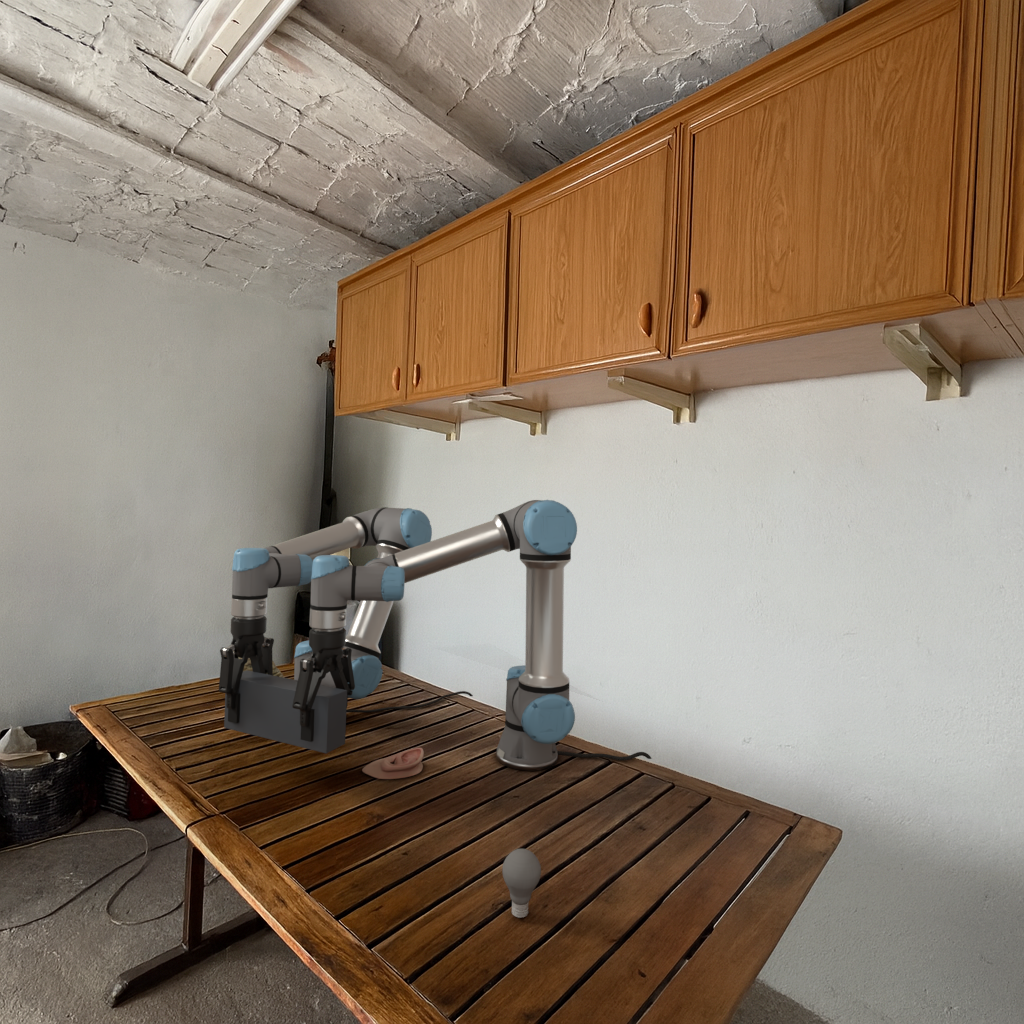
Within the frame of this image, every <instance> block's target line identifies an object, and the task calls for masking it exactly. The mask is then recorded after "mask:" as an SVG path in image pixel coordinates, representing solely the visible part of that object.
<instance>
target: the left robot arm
mask: <svg viewBox="0 0 1024 1024" xmlns="http://www.w3.org/2000/svg"><path fill="white" fill-rule="evenodd" d="M432 536H433V530H432V525H431V521H430V519H429V517H428V515H427V514H426V513H424V512H423V511H421V510H418V509H413V508H411V507H407V508H404V507H403V508H401V507H388V506H386V507H385V506H382V507H375V508H372V509H368V510H365V511H362V512H359V513H356V514H353V515H349V516H347V517H345V518H344V519H343V520H342V522H339V523H336V524H334V525H330V526H327V527H325V528H321V529H319V530H318V529H317V530H316V531H312V532H309V533H306V534H303V535H301V536H297V537H294V538H291V539H288V540H285V541H281V542H279V543H276V544H273V545H269V546H265V547H241V548H240V547H239V548H237V549H236V550H235V551H234V553H233V557H232V558H233V559H232V567H231V570H232V579H231V580H232V583H231V605H230V606H231V607H230V609H231V610H230V615H231V616H232V617H231V619H230V634H231V636H232V640H231V642H230V645H228V646H226V647H223V646H222V647H220V649H219V653H220V657H221V658H220V659H221V660H220V669H219V682H218V692H219V693H222V694H225V693H226V694H227V702H226V703H227V704H226V706H227V708H228V721H229V722H233V723H239V718H240V693H237V692H238V688H239V684H240V679H241V677H242V673H243V669H244V666H245V664H246V663H247V661H248V658H250V661H251V665H252V670H253V672H257V673H263V674H268V675H273V662H272V660H273V648H274V643H275V639H274V638H272V637H266V636H265V633H266V632H267V623H268V618H267V617H266V615H267V613H268V596H269V595H268V594H269V589H275V588H277V589H278V588H288V587H299V586H305V585H308V584H311V576H312V566H313V560H314V559H315V558H316V557H317V556H321V555H335V554H337V553H340V552H342V551H345V550H348V549H354V550H355V549H357V550H358V549H360V548H364V547H369V546H370V547H373V546H374V547H375V548H376V550H377V552H378V555H377V557H376V558H383V557H386V556H389V555H393V554H395V553H398V552H401V551H404V550H407V549H410V548H413V547H416V546H419V545H422V544H425V543H427V542H430V541H432ZM394 602H395V601H389V602H386V601H359V604H358V607H357V608H356V611H355V614H354V617H353V618H352V622H351V624H350V626H349V629H348V632H347V634H346V644H345V646H344V647H345V648H351V649H352V653H351V662H352V669H353V675H354V682H355V688H354V690H351V691H353V693H352V695H348V699H352V700H360V699H365V698H367V697H368V696H369V695H371V694H372V693H373V692H374V691H375V690H376V689H377V688H378V686H379V685H380V682H381V681H382V677H383V673H384V672H383V671H384V670H383V664H382V662H381V660H380V657H381V654H382V652H381V650H380V648H379V644H380V643H379V642H380V641H381V637H382V634H383V632H384V630H385V626H386V624H387V621H388V618H389V615H390V613H391V610H392V608H393V604H394ZM294 651H295V652H294V655H293V658H294V672H293V680H298V678H299V673H300V660H301V659H309V658H310V657H311V655H312V648H311V647H310V646H309V639H308V640H304V641H300V642H299V643H298V644H297V645H296V646H295V650H294ZM238 657H239V658H242V659H239V658H238ZM315 672H316V673H318V672H317V671H315ZM348 683H349V682H348ZM320 685H323V686H329V687H334V688H336V686H335V684H334V681H333V678H332V676H331V673H330V672H328V673H326V676H325V678H323V679H322V681H321V684H320ZM232 687H233V688H232ZM463 694H464V695H467V696H469V697H473V696H474V695H473V694H472V693H471V692H469V691H465V690H460V691H456V692H452V693H448V694H444V695H441V696H439V697H438V698H437V699H434V700H432V701H429V702H425V703H422V704H417V705H400V706H399V705H397V706H388V707H381V708H375V709H346V713H361V714H369V713H379V712H383V711H391V710H409V709H412V710H413V709H419V708H425V707H428V706H430V705H433V704H436V703H438V702H440V701H441V700H443V699H445V698H449V697H453V696H457V695H463Z"/></svg>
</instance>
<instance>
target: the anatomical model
mask: <svg viewBox="0 0 1024 1024" xmlns="http://www.w3.org/2000/svg"><path fill="white" fill-rule="evenodd" d="M424 755H425V751H424V749H423V748H422V747H414V748H410V749H407V750H404V751H401V752H398V753H396V754H393V755H391V756H388V757H384V758H380V759H375V760H373V761H372V762H369V763H368V764H366V765H365V766H364V767H363V768H362V770H361V771H362V773H363V774H366V775H368V776H369V777H372V778H375V779H379V780H394V779H395V780H396V779H404V778H408V777H412V776H415V775H418V774H420V773H421V772H422V771H423V768H424V765H423V762H422V761H423V759H424Z"/></svg>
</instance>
